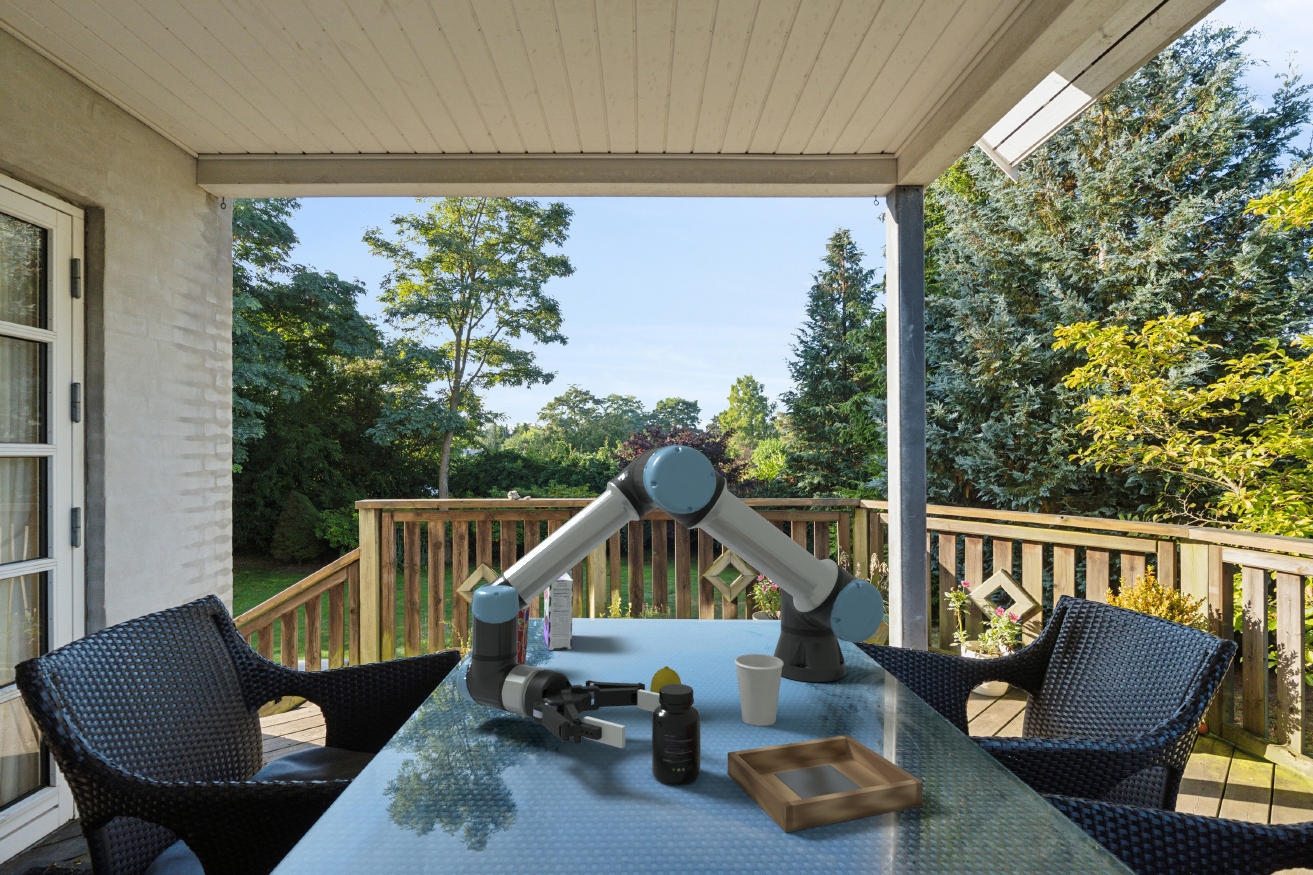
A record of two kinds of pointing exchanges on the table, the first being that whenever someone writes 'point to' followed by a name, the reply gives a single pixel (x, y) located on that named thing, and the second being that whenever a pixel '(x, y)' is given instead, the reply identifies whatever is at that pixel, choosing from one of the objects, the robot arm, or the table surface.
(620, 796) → the table surface
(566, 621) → the candy box
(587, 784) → the table surface
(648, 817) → the table surface
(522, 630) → the smoothie
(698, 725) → the supplement bottle
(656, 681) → the lemon
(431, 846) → the table surface
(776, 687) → the dixie cup
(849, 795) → the tray
